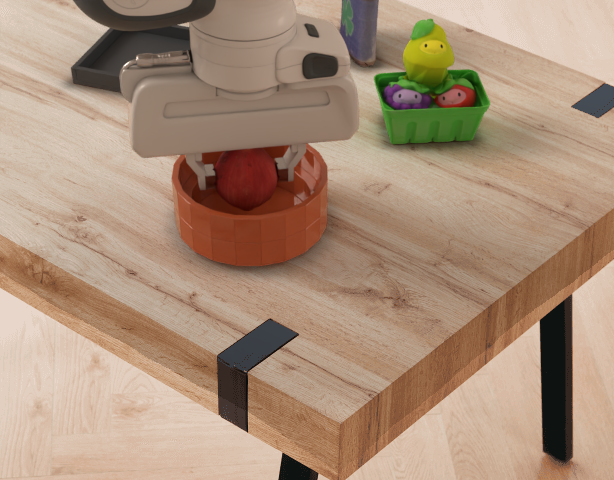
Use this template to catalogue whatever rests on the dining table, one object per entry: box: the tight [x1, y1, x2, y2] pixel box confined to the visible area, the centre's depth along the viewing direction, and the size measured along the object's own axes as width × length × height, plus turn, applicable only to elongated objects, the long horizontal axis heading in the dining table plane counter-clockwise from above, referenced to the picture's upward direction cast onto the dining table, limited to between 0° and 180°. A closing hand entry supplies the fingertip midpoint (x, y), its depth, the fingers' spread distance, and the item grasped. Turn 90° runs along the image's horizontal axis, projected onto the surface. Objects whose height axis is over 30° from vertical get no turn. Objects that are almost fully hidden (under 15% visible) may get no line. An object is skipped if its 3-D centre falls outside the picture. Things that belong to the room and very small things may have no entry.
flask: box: [339, 0, 380, 68], centre depth 126 cm, size 9×3×11 cm, turn 17°
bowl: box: [170, 143, 329, 267], centre depth 101 cm, size 14×14×6 cm
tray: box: [70, 24, 191, 93], centre depth 123 cm, size 15×13×2 cm
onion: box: [214, 148, 278, 211], centre depth 99 cm, size 6×6×8 cm
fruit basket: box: [373, 18, 491, 145], centre depth 113 cm, size 11×9×11 cm
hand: (246, 182), depth 99 cm, fingers closed on onion, 6 cm apart
